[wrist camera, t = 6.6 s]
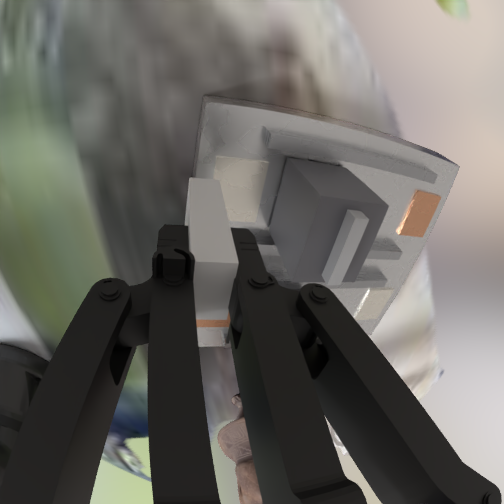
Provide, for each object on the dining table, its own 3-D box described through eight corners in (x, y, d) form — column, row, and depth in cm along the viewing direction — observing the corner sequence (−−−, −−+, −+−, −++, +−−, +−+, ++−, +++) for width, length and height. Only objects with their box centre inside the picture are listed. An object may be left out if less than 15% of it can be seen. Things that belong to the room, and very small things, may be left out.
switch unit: (180, 321, 28) (182, 355, 25) (203, 95, 17) (207, 104, 13) (360, 315, 33) (374, 341, 30) (437, 152, 22) (467, 171, 19)
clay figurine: (242, 365, 34) (293, 566, 15) (305, 372, 39) (362, 538, 19) (200, 408, 40) (229, 564, 21) (256, 412, 45) (292, 550, 25)
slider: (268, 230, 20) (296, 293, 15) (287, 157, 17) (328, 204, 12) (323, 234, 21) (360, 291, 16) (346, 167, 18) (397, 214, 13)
